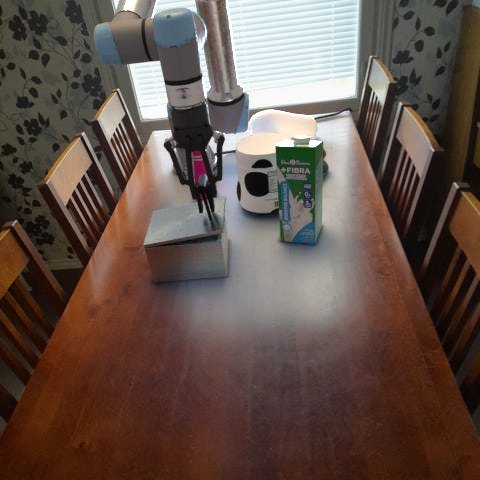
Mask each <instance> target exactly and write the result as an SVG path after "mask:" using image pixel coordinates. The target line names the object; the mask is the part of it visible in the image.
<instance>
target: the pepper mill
mask: <svg viewBox="0 0 480 480" xmlns="http://www.w3.org/2000/svg"><path fill="white" fill-rule="evenodd" d="M193 162H194V174H195V182H198V181H199V176H200V175H201V174H205V175H207V173H206V169H205V166H204V162H203V159H202V156H201V153H200V151H193ZM207 177H208V176H207ZM208 181H209V180H208ZM205 195H206V193H205ZM201 197H202V194H201ZM206 198H207V196H206ZM207 200H208V199H207ZM202 201H203V197H202Z"/></svg>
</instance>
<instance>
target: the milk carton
mask: <svg viewBox="0 0 480 480" xmlns="http://www.w3.org/2000/svg"><path fill="white" fill-rule="evenodd" d="M323 148H324V141H323V140H314V141H310V136H294V137H293V140H286V141H284V142H282V143H280V144H278V145H277V146H275V149H276V167H277V185H278V203H279V212H278V221H279V237H280V238H279V239H280V242H287V243H288V242H289V243H298V244H309V245H316V242H317V240H318V237H319V234H320V231H321V229H322V226H323V186H324V185H323V181H324V174H323Z"/></svg>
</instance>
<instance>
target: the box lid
mask: <svg viewBox="0 0 480 480" xmlns="http://www.w3.org/2000/svg"><path fill="white" fill-rule="evenodd" d="M207 181H208V177H207V175H205V174H201V175H200V176H199V181H198V187H197V191H198V193H200V194H202V197H203V200H202V203H203V213H201V214H200V213H199V208H198V203H197V201H195V202H190V203H184V204H180V205H175V206H169V207H165V208H161V209H156V210H153V211H152V214H151V217H150V221H149V225H148V228H147V230H146V233H145V234H146V235H145V237H144V240H143V244H142V246H143V248H147V247H152V246H158V245H163V244H168V243H173V242H179V241H184V240H189V239H194V238H199V237H205V236H210V235H215V234H220V233H224V220H226V202H227V201H226V200H227V199H226V196H225V195H224V196H220V197H213V198H214V204H215V211H214V212H211V208H210V203H209V197H208V191H207ZM205 193H206V195H205ZM206 196H207V198H206ZM207 199H208V200H207Z"/></svg>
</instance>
